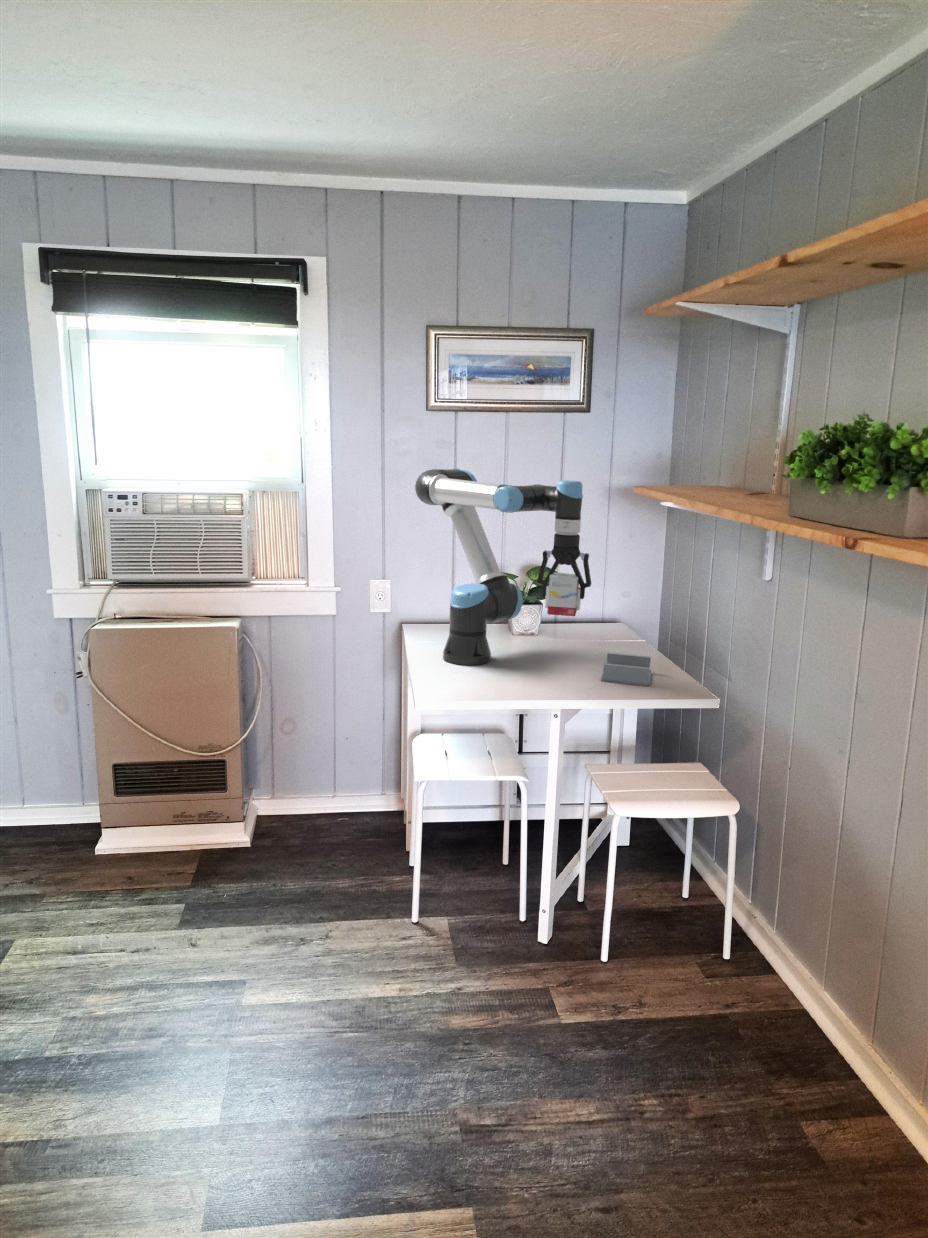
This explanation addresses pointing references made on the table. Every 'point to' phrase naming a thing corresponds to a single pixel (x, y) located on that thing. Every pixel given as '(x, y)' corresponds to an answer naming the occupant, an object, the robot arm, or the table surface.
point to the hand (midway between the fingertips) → (562, 608)
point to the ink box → (563, 594)
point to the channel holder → (627, 669)
